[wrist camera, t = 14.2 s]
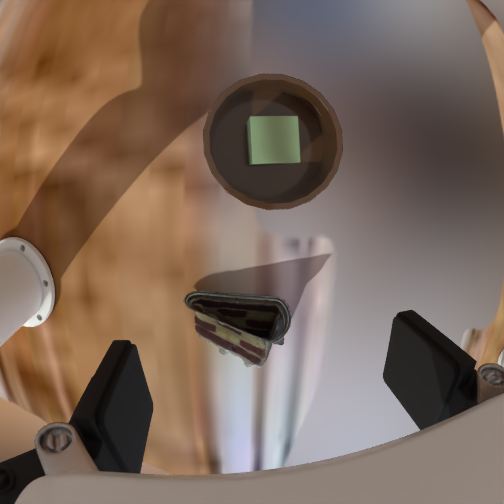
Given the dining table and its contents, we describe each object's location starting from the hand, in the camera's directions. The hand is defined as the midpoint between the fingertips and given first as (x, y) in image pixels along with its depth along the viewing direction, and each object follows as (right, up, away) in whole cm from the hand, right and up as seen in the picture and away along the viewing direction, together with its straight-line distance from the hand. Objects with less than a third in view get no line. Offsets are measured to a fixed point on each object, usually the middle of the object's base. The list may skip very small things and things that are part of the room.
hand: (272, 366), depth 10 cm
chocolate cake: (-3, -5, +26) cm, 27 cm away
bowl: (+1, +15, +21) cm, 26 cm away
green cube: (+1, +15, +21) cm, 26 cm away
